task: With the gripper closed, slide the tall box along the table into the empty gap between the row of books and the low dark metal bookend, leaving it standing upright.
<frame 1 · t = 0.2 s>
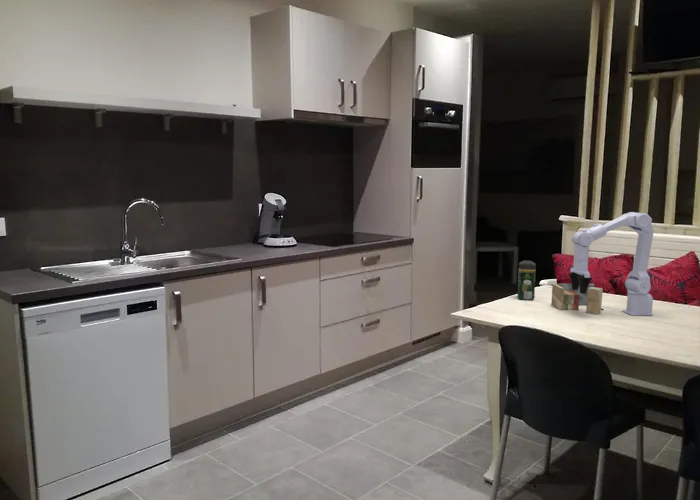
hand: (579, 291, 236), 10 cm above the table, tool pointing down, fingers open, 7 cm apart
shelf: (583, 307, 249), on the table
coffee jar: (525, 298, 268), on the table
box: (593, 313, 240), on the table
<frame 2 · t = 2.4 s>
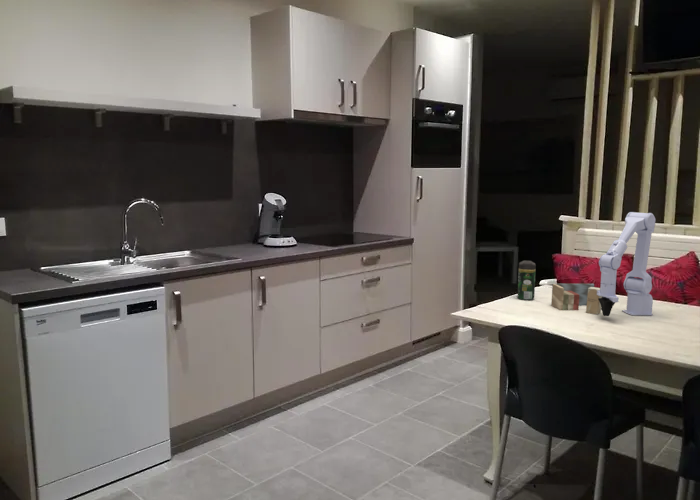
hand: (606, 315, 229), 1 cm above the table, tool pointing down, fingers closed
nothing on the table moved.
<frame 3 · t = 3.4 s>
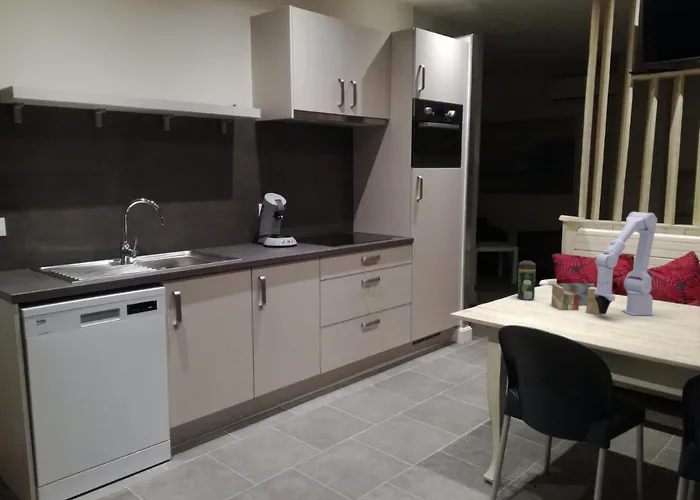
hand: (602, 313, 232), 1 cm above the table, tool pointing down, fingers closed
nothing on the table moved.
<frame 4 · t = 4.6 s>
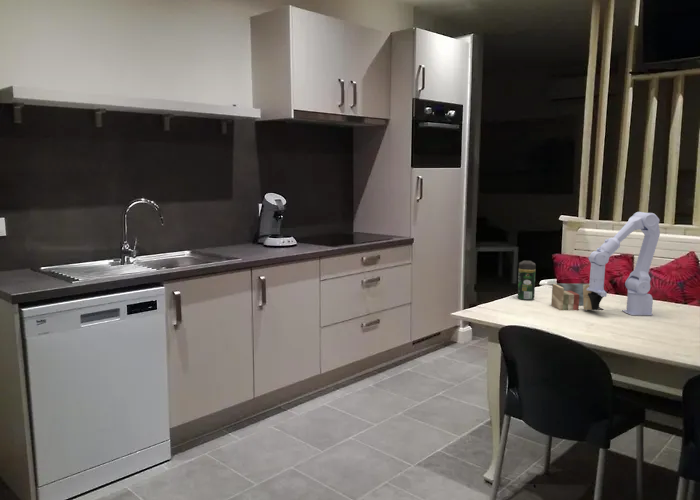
hand: (594, 309, 239), 2 cm above the table, tool pointing down, fingers closed, pressing on box
box: (591, 310, 242), point 1 cm above the table, touching gripper
everything else where it was.
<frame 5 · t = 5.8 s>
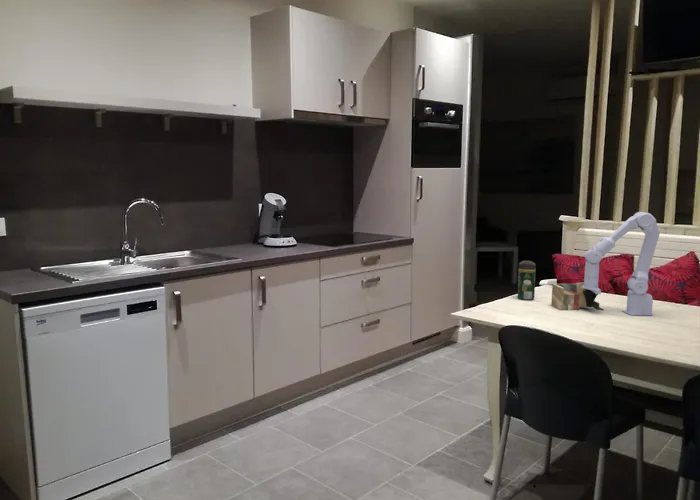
hand: (589, 307, 244), 2 cm above the table, tool pointing down, fingers closed, pressing on box
box: (585, 307, 247), point 1 cm above the table, touching gripper
everything else where it was.
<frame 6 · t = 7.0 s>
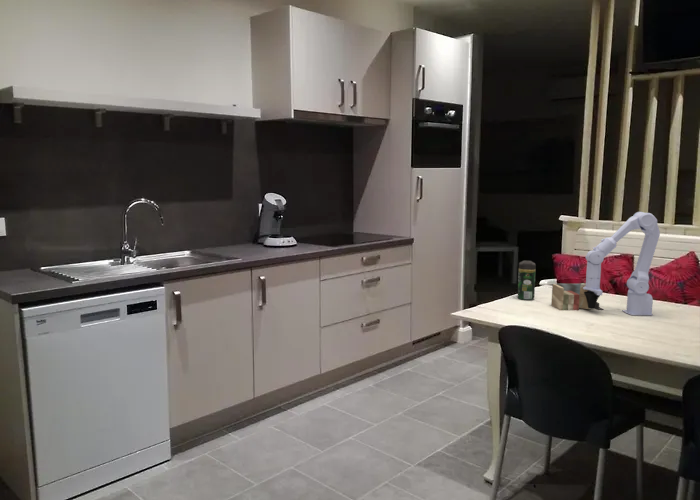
hand: (591, 308, 242), 1 cm above the table, tool pointing down, fingers closed
box: (584, 308, 247), on the table, touching gripper
everything else where it was.
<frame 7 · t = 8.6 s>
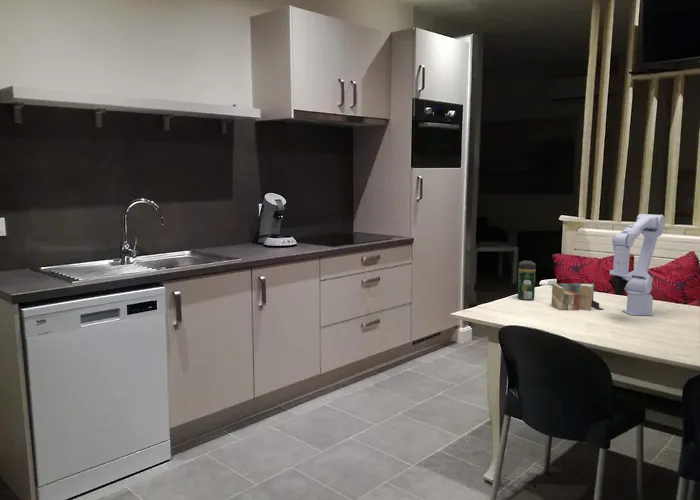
hand: (619, 294, 228), 10 cm above the table, tool pointing down, fingers closed
box: (584, 309, 248), on the table
everything else where it was.
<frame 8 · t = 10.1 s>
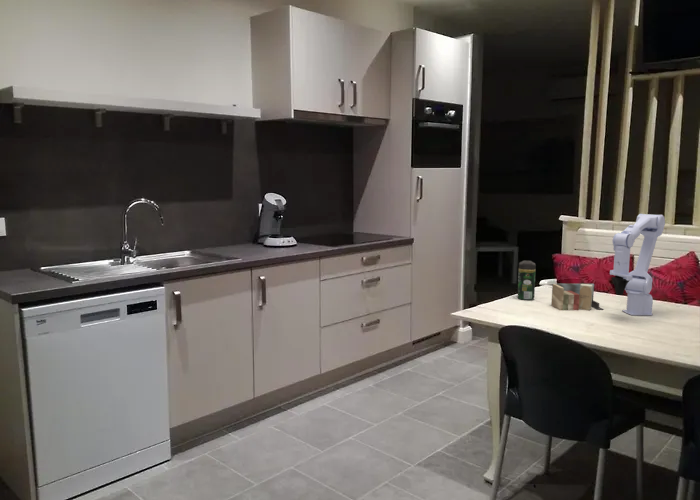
hand: (619, 294, 228), 10 cm above the table, tool pointing down, fingers closed
nothing on the table moved.
at the end: box inside the target area on the shelf (2.7 cm from its centre), point 0.0 cm above the shelf's base; box tilted 0°; box moved 7.6 cm from its start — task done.
